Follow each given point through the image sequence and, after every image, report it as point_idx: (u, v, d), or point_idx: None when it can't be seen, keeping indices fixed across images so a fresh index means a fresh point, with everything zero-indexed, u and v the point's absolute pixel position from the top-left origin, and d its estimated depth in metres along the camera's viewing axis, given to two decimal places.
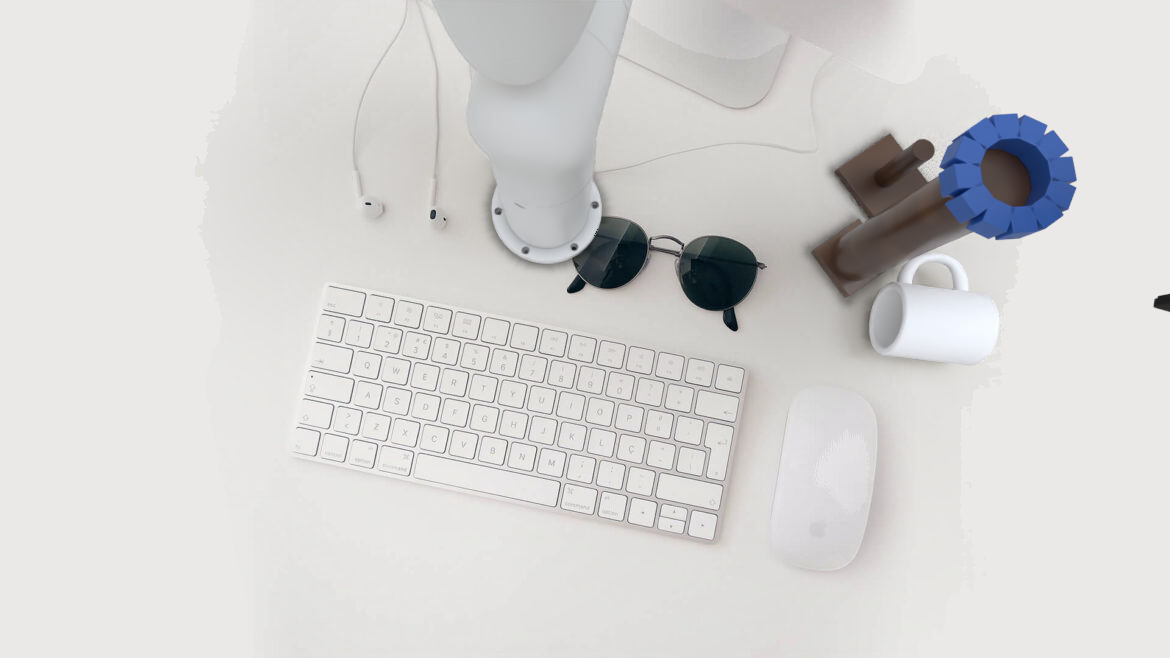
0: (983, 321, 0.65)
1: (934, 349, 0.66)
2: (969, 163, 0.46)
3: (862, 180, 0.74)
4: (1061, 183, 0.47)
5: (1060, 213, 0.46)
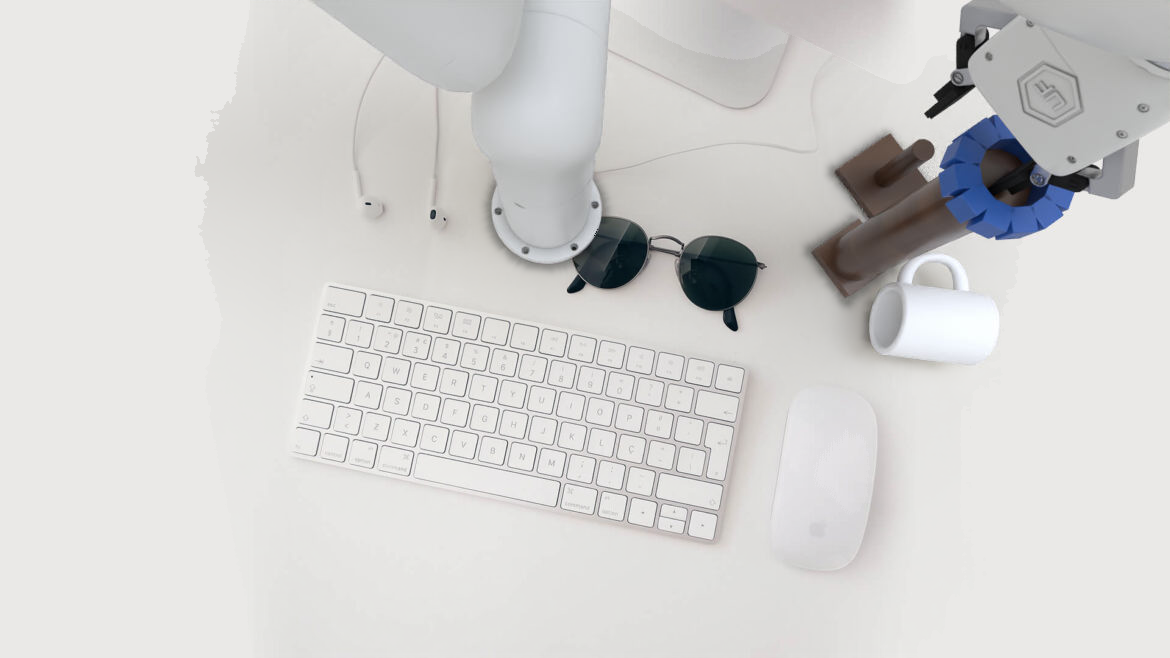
0: (983, 321, 0.65)
1: (934, 349, 0.66)
2: (969, 163, 0.46)
3: (862, 180, 0.74)
4: None
5: (1060, 213, 0.46)
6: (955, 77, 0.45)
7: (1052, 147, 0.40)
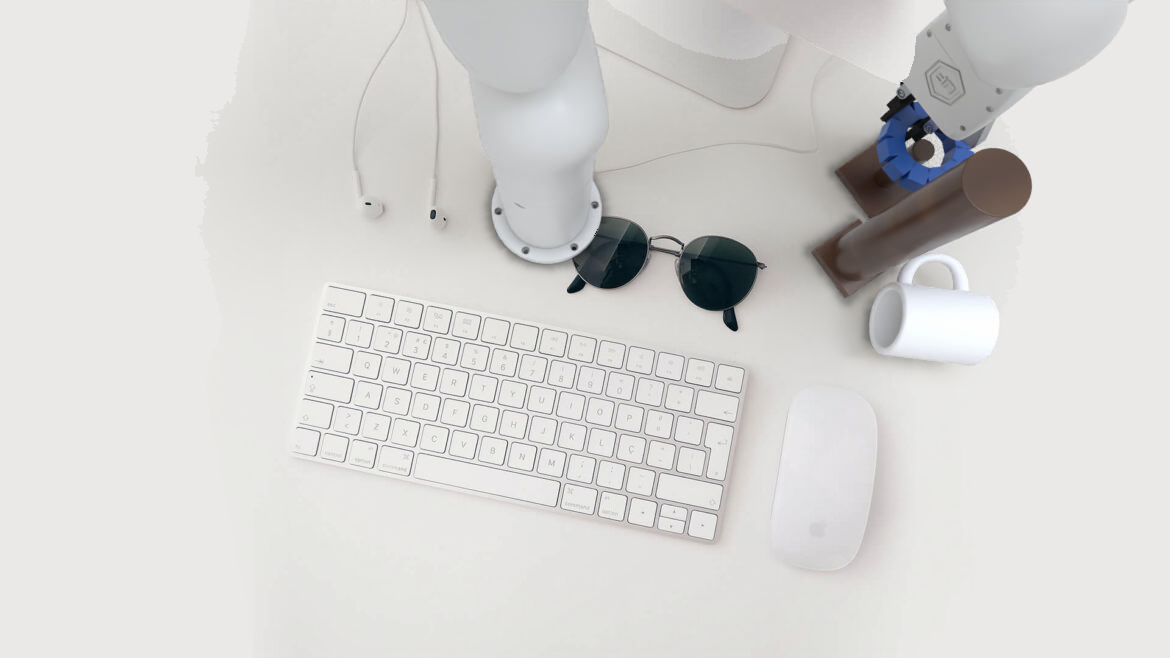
0: (983, 321, 0.65)
1: (934, 349, 0.66)
2: (897, 137, 0.64)
3: (862, 180, 0.74)
4: (963, 149, 0.65)
5: None
6: (899, 93, 0.62)
7: (950, 120, 0.57)
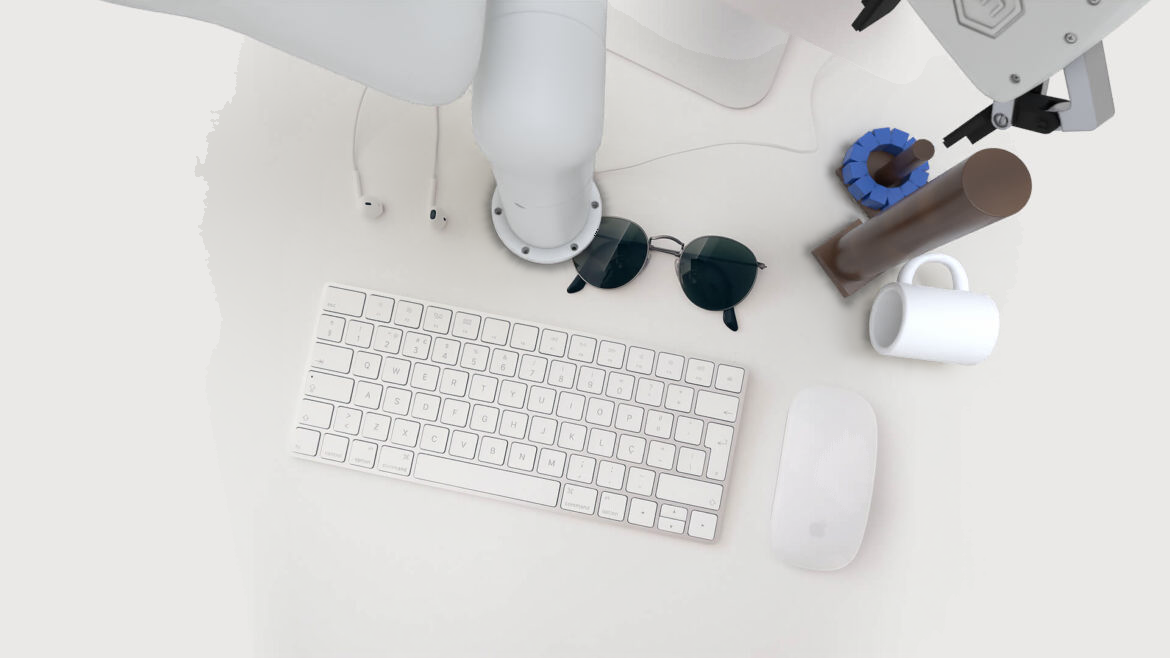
0: (983, 321, 0.65)
1: (934, 349, 0.66)
2: (859, 161, 0.72)
3: None
4: (919, 171, 0.72)
5: None
6: None
7: (992, 65, 0.33)
